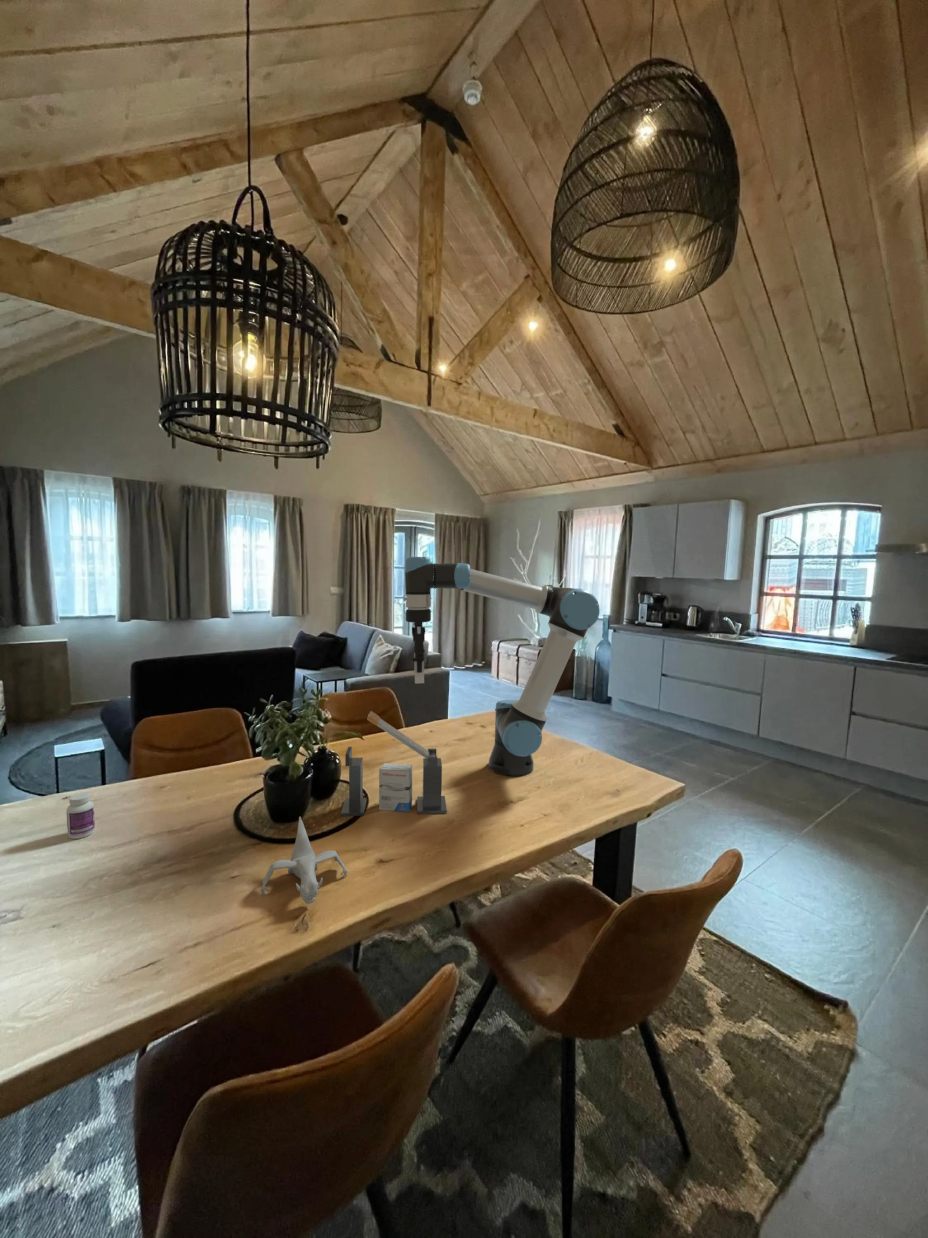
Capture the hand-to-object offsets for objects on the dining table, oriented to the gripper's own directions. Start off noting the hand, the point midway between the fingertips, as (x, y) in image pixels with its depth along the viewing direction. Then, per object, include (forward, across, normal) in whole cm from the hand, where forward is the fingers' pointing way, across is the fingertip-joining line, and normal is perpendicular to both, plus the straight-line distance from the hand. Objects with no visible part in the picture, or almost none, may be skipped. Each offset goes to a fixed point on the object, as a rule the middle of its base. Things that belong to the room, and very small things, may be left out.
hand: (419, 678), depth 153 cm
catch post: (+33, +15, -18) cm, 40 cm away
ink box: (+34, +15, -7) cm, 37 cm away
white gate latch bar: (+14, +15, -6) cm, 21 cm away
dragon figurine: (+33, +48, -25) cm, 63 cm away
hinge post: (+34, +15, +3) cm, 37 cm away
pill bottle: (+31, +24, -83) cm, 92 cm away
